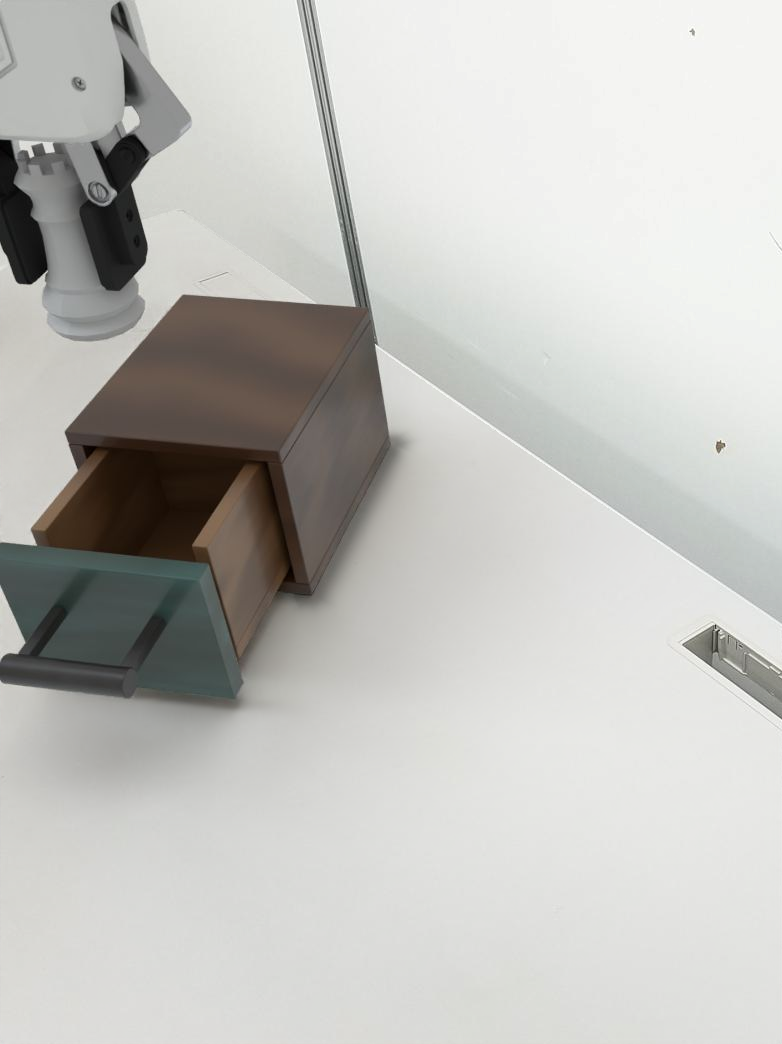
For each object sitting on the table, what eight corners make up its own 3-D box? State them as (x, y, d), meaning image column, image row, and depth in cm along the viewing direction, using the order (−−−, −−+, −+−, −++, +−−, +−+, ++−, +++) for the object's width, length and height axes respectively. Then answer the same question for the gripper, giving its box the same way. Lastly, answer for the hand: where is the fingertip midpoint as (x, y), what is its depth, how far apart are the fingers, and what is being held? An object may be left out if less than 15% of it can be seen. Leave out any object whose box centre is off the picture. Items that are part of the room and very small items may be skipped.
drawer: (195, 772, 59) (153, 651, 54) (-10, 746, 60) (-71, 625, 55) (326, 530, 72) (302, 414, 67) (155, 513, 74) (119, 399, 68)
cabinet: (312, 595, 69) (279, 450, 63) (114, 574, 71) (63, 431, 65) (390, 444, 80) (369, 307, 74) (217, 428, 82) (182, 293, 75)
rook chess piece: (111, 351, 57) (58, 180, 52) (28, 337, 58) (-32, 167, 53) (167, 305, 60) (122, 139, 55) (87, 292, 61) (35, 127, 56)
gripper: (-344, -178, 44) (-130, 301, 56) (102, -171, 41) (223, 328, 54) (-205, -219, 49) (-39, 226, 62) (195, -214, 47) (286, 247, 59)
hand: (82, 269), depth 57 cm, fingers closed on rook chess piece, 3 cm apart
